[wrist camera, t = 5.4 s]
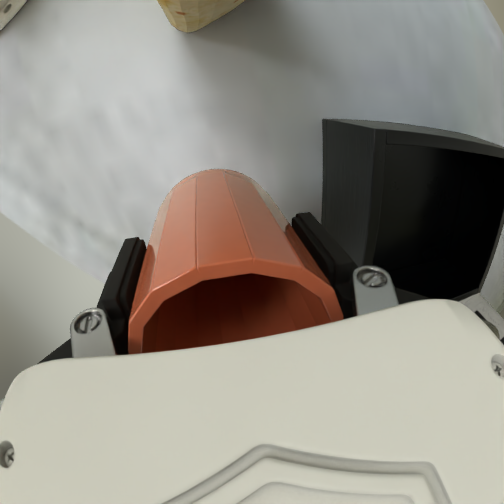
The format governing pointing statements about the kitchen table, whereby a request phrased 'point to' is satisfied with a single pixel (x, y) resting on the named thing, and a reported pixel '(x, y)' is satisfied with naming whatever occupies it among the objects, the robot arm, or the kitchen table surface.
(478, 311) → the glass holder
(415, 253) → the black storage bin
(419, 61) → the kitchen table surface
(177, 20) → the food model
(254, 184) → the cup
